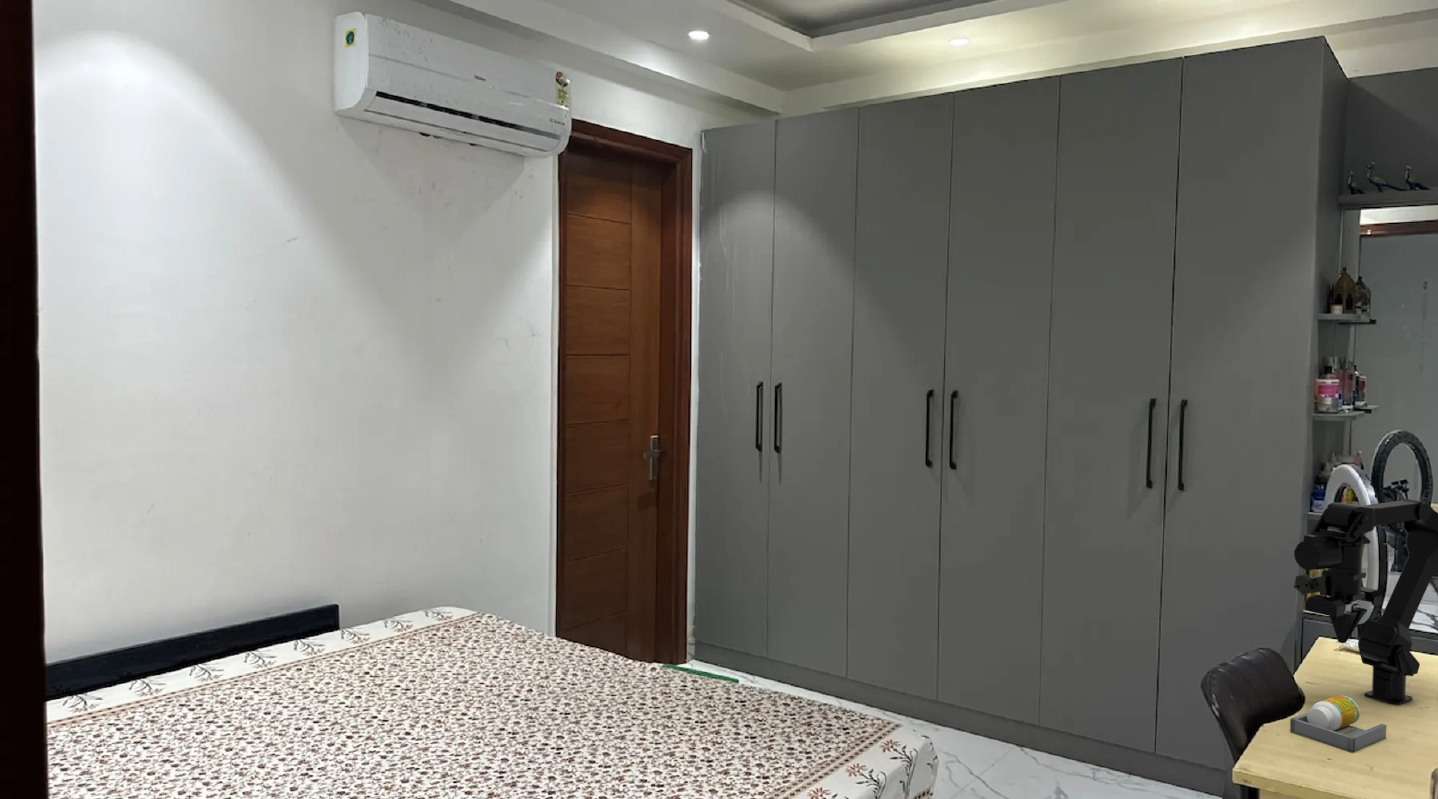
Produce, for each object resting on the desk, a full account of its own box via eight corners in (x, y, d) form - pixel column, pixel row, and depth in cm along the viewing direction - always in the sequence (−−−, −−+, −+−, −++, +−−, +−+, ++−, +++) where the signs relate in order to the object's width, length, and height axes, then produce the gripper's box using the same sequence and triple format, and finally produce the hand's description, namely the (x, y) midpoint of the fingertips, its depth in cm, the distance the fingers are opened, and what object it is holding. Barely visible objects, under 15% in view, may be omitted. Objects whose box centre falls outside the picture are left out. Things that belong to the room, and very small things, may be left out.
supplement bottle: (1365, 705, 184) (1336, 715, 179) (1355, 729, 186) (1326, 740, 181) (1336, 689, 189) (1307, 698, 184) (1327, 712, 190) (1299, 722, 185)
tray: (1323, 718, 190) (1324, 706, 190) (1386, 738, 181) (1386, 725, 181) (1290, 731, 184) (1290, 718, 184) (1352, 752, 175) (1353, 738, 174)
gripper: (1327, 553, 207) (1324, 625, 208) (1278, 564, 198) (1275, 639, 198) (1384, 563, 198) (1382, 639, 199) (1336, 575, 188) (1333, 654, 189)
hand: (1342, 642), depth 196 cm, fingers closed
